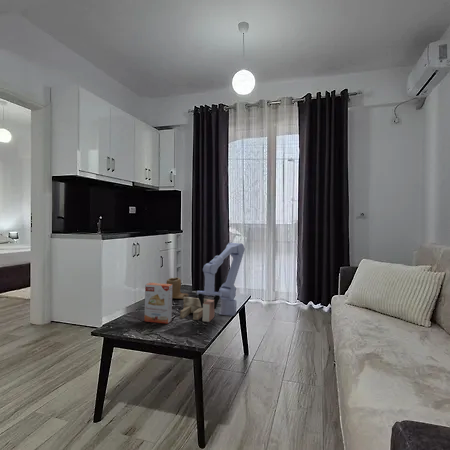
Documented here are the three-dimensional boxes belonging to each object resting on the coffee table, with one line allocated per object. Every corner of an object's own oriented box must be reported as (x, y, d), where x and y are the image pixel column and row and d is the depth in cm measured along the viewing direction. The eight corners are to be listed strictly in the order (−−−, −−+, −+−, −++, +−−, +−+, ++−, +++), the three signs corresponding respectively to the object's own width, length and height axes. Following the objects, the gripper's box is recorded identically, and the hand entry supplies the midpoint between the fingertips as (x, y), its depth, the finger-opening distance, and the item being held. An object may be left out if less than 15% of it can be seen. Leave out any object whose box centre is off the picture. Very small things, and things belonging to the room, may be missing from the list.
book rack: (208, 313, 194) (209, 299, 194) (201, 320, 181) (201, 304, 181) (184, 311, 198) (184, 296, 198) (175, 317, 185) (175, 302, 185)
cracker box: (143, 322, 175) (144, 284, 175) (148, 318, 181) (149, 282, 181) (167, 324, 172) (168, 285, 172) (171, 320, 178) (172, 283, 178)
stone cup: (162, 299, 226) (163, 278, 226) (169, 295, 238) (170, 275, 238) (183, 301, 223) (183, 279, 222) (188, 297, 234) (189, 277, 234)
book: (214, 316, 188) (214, 300, 188) (209, 322, 178) (209, 304, 178) (208, 316, 189) (208, 299, 189) (202, 321, 179) (202, 303, 179)
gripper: (195, 284, 182) (194, 308, 182) (219, 286, 178) (218, 310, 178) (199, 282, 188) (198, 305, 189) (223, 284, 185) (222, 307, 185)
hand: (208, 307), depth 184 cm, fingers open, 7 cm apart
